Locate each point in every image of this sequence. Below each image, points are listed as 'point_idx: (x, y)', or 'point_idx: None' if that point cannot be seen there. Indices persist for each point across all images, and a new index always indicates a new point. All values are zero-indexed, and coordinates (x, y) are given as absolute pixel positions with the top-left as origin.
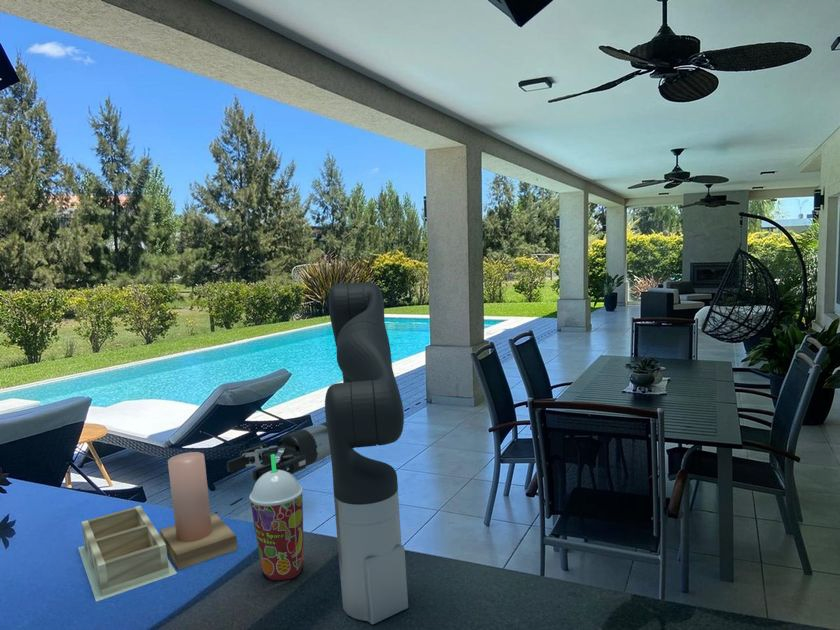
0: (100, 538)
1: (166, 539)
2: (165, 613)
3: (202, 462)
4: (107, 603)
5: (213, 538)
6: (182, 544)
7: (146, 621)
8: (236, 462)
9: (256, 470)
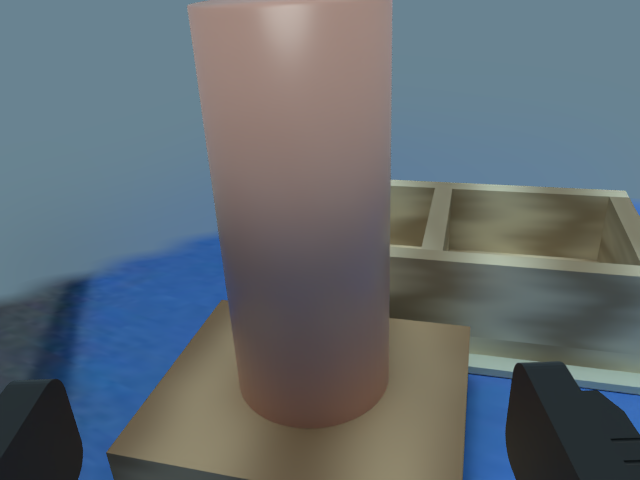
0: (446, 193)
1: None
2: (100, 285)
3: (199, 40)
4: None
5: (195, 393)
6: None
7: (120, 264)
8: (551, 460)
9: (8, 387)
